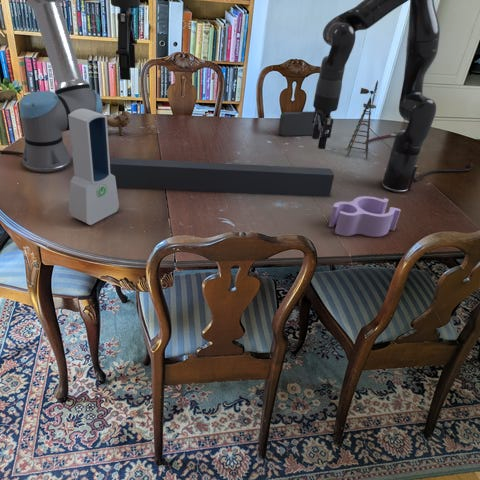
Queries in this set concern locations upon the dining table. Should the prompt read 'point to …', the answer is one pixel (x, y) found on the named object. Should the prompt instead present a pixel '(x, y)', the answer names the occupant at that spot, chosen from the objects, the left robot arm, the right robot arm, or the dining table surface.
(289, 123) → the handheld gaming console
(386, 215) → the clip
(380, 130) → the dining table surface
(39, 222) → the dining table surface
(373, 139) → the sword
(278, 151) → the dining table surface
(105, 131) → the electronic device
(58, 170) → the left robot arm
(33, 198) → the dining table surface
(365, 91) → the miniature windmill
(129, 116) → the lion figurine
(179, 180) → the post
